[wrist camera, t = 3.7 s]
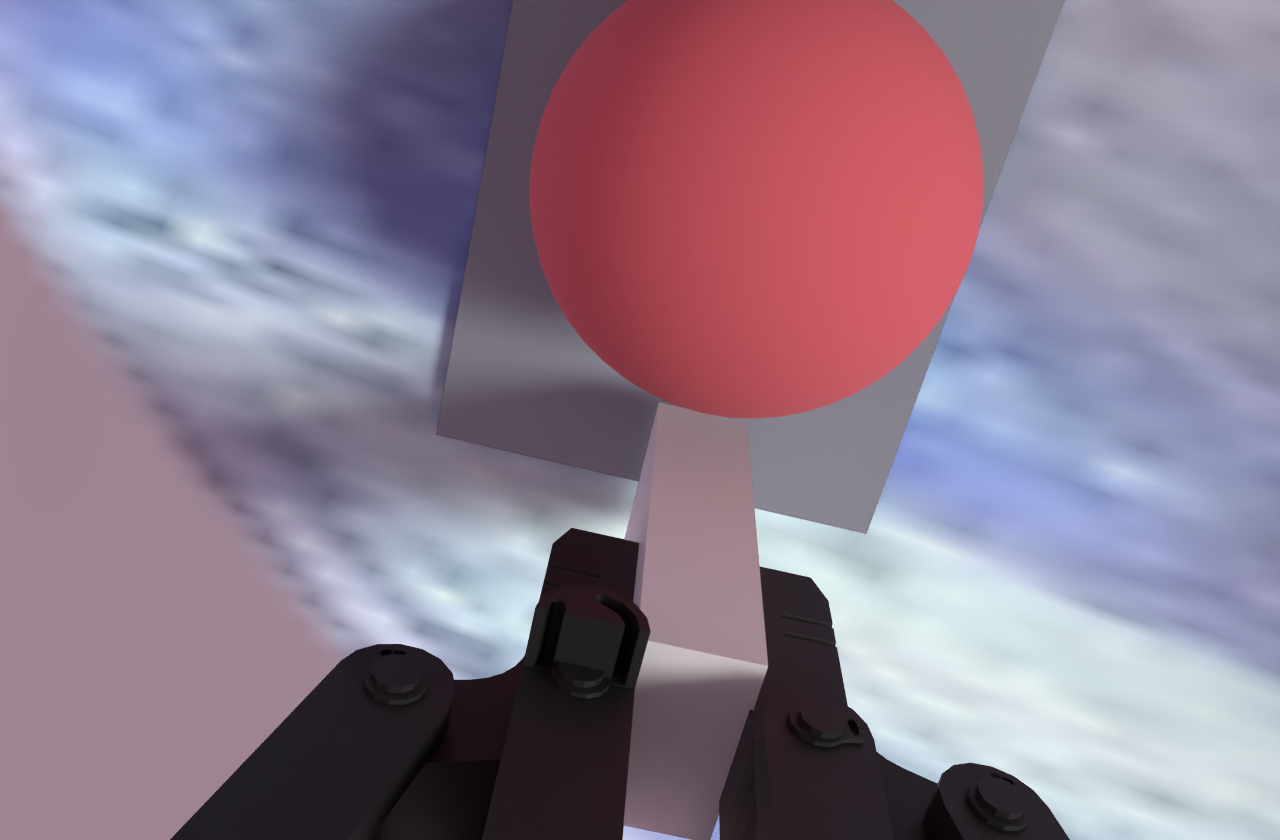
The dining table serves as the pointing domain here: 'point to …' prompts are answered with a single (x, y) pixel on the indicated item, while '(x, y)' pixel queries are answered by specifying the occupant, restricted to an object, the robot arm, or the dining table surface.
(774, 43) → the ball
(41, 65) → the dining table surface
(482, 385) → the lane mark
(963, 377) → the dining table surface
